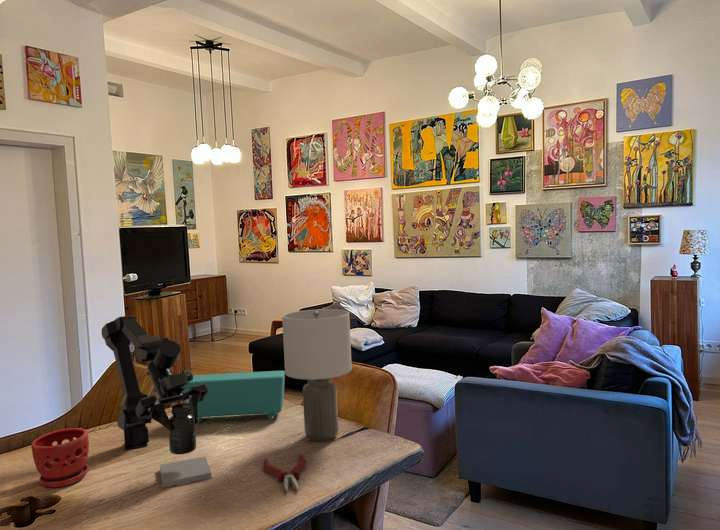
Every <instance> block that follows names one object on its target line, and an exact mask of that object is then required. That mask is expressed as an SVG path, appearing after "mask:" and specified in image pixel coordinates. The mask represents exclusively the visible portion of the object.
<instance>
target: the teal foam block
mask: <svg viewBox="0 0 720 530" xmlns="http://www.w3.org/2000/svg"><path fill="white" fill-rule="evenodd" d="M192 375H193V374H192ZM285 379H286V374H285V370H271V371H270V370H268V371H253V372H252V371H251V372H249V371H248V372H231V373H215V374H214V373H212V374H197V375H193V380H191V381H190V382H188V383H189V384H186V385H184V387H185V389H184V390H183V391H182V393H186V392H189V390H190V389H191V387H192V386H194V385H199V384H205V385H206V386H207V388H208V390H209V391H208V393H207V394H206V396H205V398H204V400H203V401H201V402H199V403H198V406H197V409H198V423H197V424H200V423H201V421H202V419H203V418H212V417H213V418H215V417H217V418H218V417H229V416H246V415H248V416H249V415H263V414H264V415H265V414H266V416H267V417H268V418H269V419H270V418H272V417H273V416H274V415H275V414H276V413H277V414H279V413H281V412H282V409H283V405H284V398H285V397H284V394H285ZM183 403H186V404H188V403H187V401H186V400H183ZM277 414H276V415H277ZM276 415H275V416H276ZM197 424H196V425H197Z"/></svg>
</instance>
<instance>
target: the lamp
mask: <svg viewBox="0 0 720 530" xmlns="http://www.w3.org/2000/svg"><path fill="white" fill-rule="evenodd" d="M281 317H282V318H281V319H282V336H283V337H282V339H283V354H284V356H283V357H284V371H285V376H287V377H289V378H292V379H295V380H296V379H297V380H307V383H306V384H304V385H303V388H302V405H303V420H304V423H303V424H304V428H303V429H304V435H305V437H306V438H307V439H308V440H309V439H311V440H310V441H312V440H313V442H317V441H319V442H327V440H328V441H331V440H333V439H335V438H336V436H337V435H338V432H339V418H338V417H339V416H338V415H339V414H338V397H337V396H338V395H337V392H338V391H337V390H338V389H337V386H336V384H335V382H332V381H331V379H333V378H338V377H342V376H344V375H347V374H349V373H351V371H352V369H353V368H352V366H353V365H352V346H351V345H352V342H351V326H350V325H351V323H350V311H349V310H346V309H345V310H344V309H334V308H333V309H332V308H331V309H329V308H327V309H325V308H322V309H317V308H316V309H306V310H298V311H292V312H286V313H285V314H282V316H281Z"/></svg>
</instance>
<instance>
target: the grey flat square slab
mask: <svg viewBox="0 0 720 530" xmlns="http://www.w3.org/2000/svg"><path fill="white" fill-rule="evenodd" d="M159 471H160V477H161V487H162V488H163V487H166V488H169V487H168V486H171V487H173V486H172V485H176V486H179V485H178V484H181V485H184V484H183V483H186V484H188V483H187V482H191V483H195V482H194V481H196V482H200V481H199V480H201V481H204V479H205V480H210V479H212V472H211V468H210V466H209V463H208V459H207V457H206V456H201V457H200V456H199V457H195V458H190V459H183V460H180V461H173V462H169V463H163V464H159ZM209 478H210V479H209Z"/></svg>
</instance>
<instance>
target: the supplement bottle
mask: <svg viewBox="0 0 720 530" xmlns="http://www.w3.org/2000/svg"><path fill="white" fill-rule="evenodd" d="M190 412H191V405H190V404H186V403H185V402H183V403H177V404H174V405H173V406H171V416H170V417H169V420H170V422H171V424H172V427H173V431H171V432H170V431H169V430H168V444H169V445H168V447H169V452H170V453H171V454H172V455H178V456H179V455H187V454H190V453H193V452H194V451H195V450H196V449H197V428H196V425H197V424H195V417H194V415H193V414H191V413H190Z"/></svg>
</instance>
